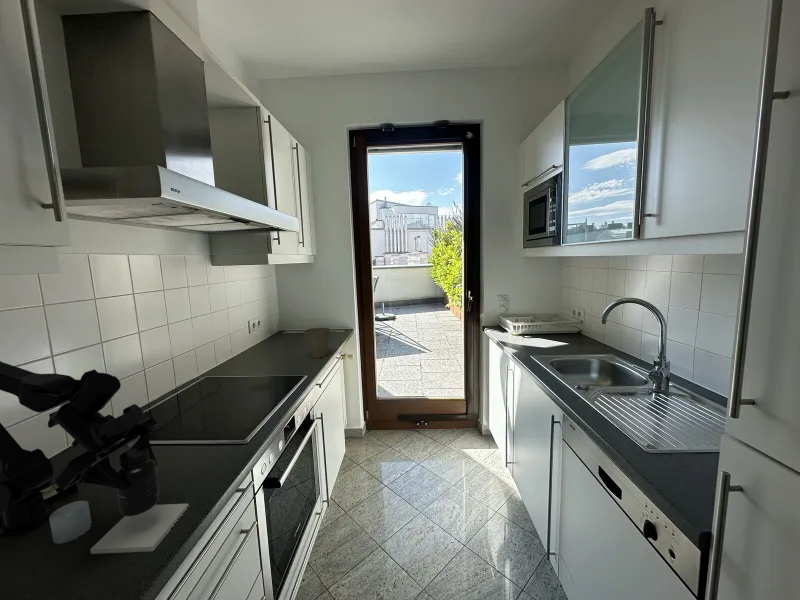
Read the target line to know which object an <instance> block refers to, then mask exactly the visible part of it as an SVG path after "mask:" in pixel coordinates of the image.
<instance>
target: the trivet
mask: <svg viewBox="0 0 800 600" xmlns="http://www.w3.org/2000/svg"><path fill="white" fill-rule="evenodd" d="M188 507H189V508H190V505H189V503H171V504H170V503H169V504H168V503H166V504H155V505H154V506H153V507H152V508H151V509H149V510H148V511H146V512H144V513H141V514H139V515H135V516H123V517H122V518H121V519H120V520H119V521H118V522H117V523H116V524H115V525H114V526H113V527H112V528H111V529H110V530H109V531H108V532H107V533H106V534H104V535H103V537H101V539H99V540H98V542H96V543H95V544H94V545H93V546H92V547H91V548H90V554H91V555H96V554H97V555H98V554H100V555H101V554H121V553H123V554H125V553H142V552H143V553H144V552H146V553H147V552H154V551H155V550H156V549H157V547H158V546H159V545H160V543H161V542H162V541H163V540H164V538H166V536H167V535H168V534H169V533H170V531H171V530H172V529H173V528H172V527H175V525H176V524H177V523H178V522H177V521H179V520H180V519H181V518H182V517H181V516H184V514H185V513H186V512H187V511H188V509H189V508H188ZM187 508H188V509H187ZM186 510H187V511H186ZM185 511H186V512H185ZM184 512H185V513H184ZM183 513H184V514H183ZM180 517H181V518H180ZM179 518H180V519H179ZM178 519H179V520H178ZM176 522H177V523H176ZM175 523H176V524H175ZM174 524H175V525H174ZM171 528H172V529H171Z"/></svg>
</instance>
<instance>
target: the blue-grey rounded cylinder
mask: <svg viewBox="0 0 800 600" xmlns="http://www.w3.org/2000/svg"><path fill="white" fill-rule="evenodd" d="M48 517H49V518H48V519H49V524H50V530H51V538H52V542H53V543H54V544H58V545H59V544H66V543H68V542H71V541H74V540H76V539H78V538H79V536H80V537H82V536H83V535H84V534H86V533H87V532H88V531H89V530H90V529H91V528H92V525H91V524H92V517H91V511H90V506H89V502H88V501H87V500H77V501H73V502H70V503H67V504H65V505H63V506H61V507H59V508H58V509H56V510H53V513H52V514H51V515H49V516H48ZM90 527H91V528H90ZM81 535H82V536H81Z"/></svg>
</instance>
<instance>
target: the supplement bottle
mask: <svg viewBox="0 0 800 600" xmlns="http://www.w3.org/2000/svg"><path fill="white" fill-rule="evenodd" d="M129 449H130V448H129ZM129 449H128V450H126V451H123V453H121V454H120V455H119V458H118V459H119V468H118V469H117V470H116V472H117V473H118V474H120V475H121V476H122V477H123V478H124V479H125V480H126V482H127V483H128V484H129V488H128V489H126V490H122V489H117V488H115V489H116V495H117V503H118V510H119V513H120V514H121V515H122V516H123V517H125V516H135V515H139V514H141V513H144V512H146V511H148V510H149V509H151V508H152V507H153V506H154V505H157V504H158V502H159V500H160V491H159V490H160V488H159V480H158V474H157V473H158V469H157V470H156V463H155V461H154V460H153V459H151V458H149V452H148V448H146V447H137V448H133V449H130V450H129Z"/></svg>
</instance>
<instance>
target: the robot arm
mask: <svg viewBox="0 0 800 600" xmlns="http://www.w3.org/2000/svg"><path fill="white" fill-rule="evenodd" d="M121 387H122V385H121V381H120V379H119V378H118V377H117V376H115V375H112V374H109V373H105V372H98V371H97V370H96V369H90V370H89V371H84V373H83V374H82V375H81V377H80V379H76V378H74V377H72V376H71V375H67V374H61V373H60V374H59V373H38V372H37V373H36V372H33V371H30V370H28V369H24V368H21V367H19V366H18V367H17V366H16V365H12V364H9V363H6V362H3V361H1V360H0V391H2V392H5V393H8V394H11V395H13V396H15V397H17V398H18V403H19V405H21V406H24V407H25V408H27V409H29V410H31V411H33V412H36V413H43V412H46V411H49V410H52V409H54V408H56V407H59V406H60V407H59V408H58V409H57V410H56V411H54V412H51V413H49V415H48V416H49V420H48V422H47V428H49V429H51V428H53V427H55V426H58V425H59V426H60V427H61V428H62V429H63V430H64V431H66V433H67V434H69V436H71V437H72V438H73V441H72V442H71V445H72V446H73V447H74V448H76V447H78V446H81V447H83V449H84V450H85V451H86V452H84V453H82V454H79V455H78V456H77V457H74V458H73V459H71V460H69V461H68V462H67V463H66V464H65V466H64V467H63V468H62V469H61V470H60V471H59V473H57V475H56V476H55V484H56V485H57V486H58V487H59V488H60V489H61V490H62V491H65V490H67V489H69V488H70V487H72V486H73V485H75V484H76V483H77V485H79V486H81V485H82V484H89V485H98V486H104V487H110V488H114V489H116V488H117V489H122V490H126V489H128V488H129V484H128V483H127V482H126V480H125V479H124V478H123V477H122V476H121V475H120V474H118V473H117V470H116V469H114V468H113V467H112V466H111V461H110V458H109V456H110V455H112V454H114V453H115V452H117V451H119V450H121V449H122V448H124V447H126V446H128V448H129V449H128V450H130V449H133V448H137V447H146V448H148V452H149V458H151V459H153V460H154V461H155V463H156V466H157V467H158V461H157V458H156V457H155V455H154V452H153V449H152V447H151V443H150V437H151V434H152V433H153V430H154V429H155V428H156V427H157V426H158V424H159V422H158V421H157V420H155V419H154V417H145V418H144V419H142V420H141V419H140V418H141V417H143V416H144V411H143V409H142V408H141V407H140V406H139V405H137V404H136V403H134V404H131V405H129V406H127V407H125V408H123V409H122V414H121V415H119V416H116V417H114V416H113V414H108V415H105V416H104V415H103V414H102V413H101V412H100V411H101V410H102V409H104V408H105V407H106V406H107V404H108V403H109V402H110V401H111V399H112V398H113V397H114V396H115V394H117V392H118V391H119V390H120V389H121ZM155 458H156V459H155ZM54 472H55V467H54V465H53V463H52V459H49V458H48V457H47V456H46V455H45V453H44V452H43V450H42V449H40V448H35V449H33V450H28V449H24V448H23V447H21V445H20V444H19V443H18V442H17V440H16V439H15V438H14V437H13V436H12V434H11V433H10V432H9V431H8V429H6V427H5V426H4V425H3V424H2V423H1V422H0V518H1V524H2V527H1V528H0V536H3V535H9V536H10V535H24V534H27V533H28V532H29V531H31V530H32V529H33V528H35V527H36V526H38V525H39V524H40V523H42V522H43V521H44V520H45V519H47V518H48V517H50V515H51V514H52V513H53V512H54V510H53V509H47V503H46V499H45V498H44V494H43V493H44V490H45V489H46V488H49V487H51V486H52V481H53V477H54ZM117 489H116V490H117Z"/></svg>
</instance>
